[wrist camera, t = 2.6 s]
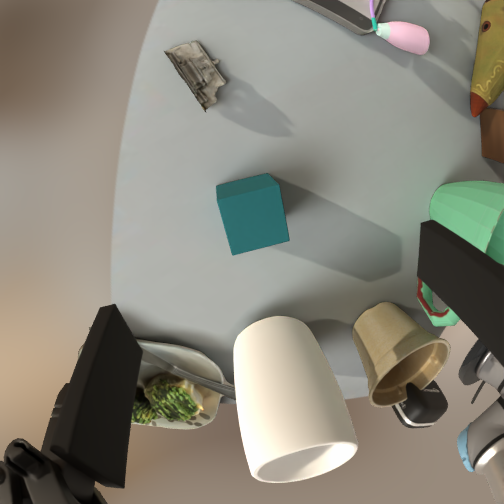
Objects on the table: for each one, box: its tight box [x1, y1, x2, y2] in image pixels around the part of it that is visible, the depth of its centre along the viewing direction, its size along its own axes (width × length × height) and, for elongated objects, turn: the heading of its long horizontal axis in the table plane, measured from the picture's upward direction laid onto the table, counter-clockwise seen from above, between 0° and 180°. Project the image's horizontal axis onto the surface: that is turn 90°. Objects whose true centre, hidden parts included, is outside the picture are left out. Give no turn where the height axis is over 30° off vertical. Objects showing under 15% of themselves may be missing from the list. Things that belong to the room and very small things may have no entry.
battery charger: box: [392, 380, 448, 428], centre depth 28 cm, size 7×4×11 cm, turn 65°
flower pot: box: [352, 302, 450, 407], centre depth 26 cm, size 9×9×9 cm
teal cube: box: [216, 173, 290, 255], centre depth 20 cm, size 4×4×4 cm
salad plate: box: [78, 327, 236, 429], centre depth 28 cm, size 19×18×5 cm
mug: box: [417, 181, 504, 327], centre depth 21 cm, size 15×10×10 cm
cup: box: [234, 316, 358, 483], centre depth 22 cm, size 8×8×14 cm
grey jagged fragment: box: [163, 41, 226, 112], centre depth 16 cm, size 6×2×3 cm
